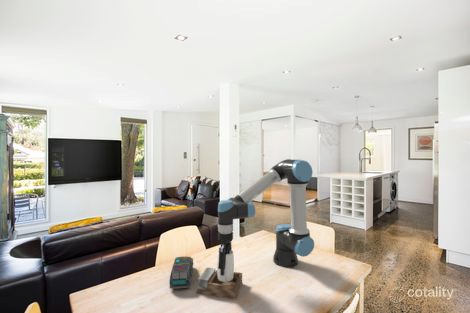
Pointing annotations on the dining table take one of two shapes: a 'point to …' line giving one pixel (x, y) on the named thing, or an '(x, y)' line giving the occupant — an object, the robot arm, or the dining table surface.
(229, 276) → the cup
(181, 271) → the toy van
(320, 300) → the dining table surface
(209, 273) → the wooden open tray
